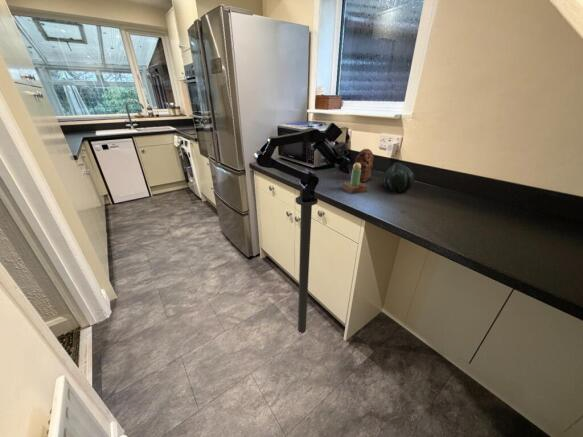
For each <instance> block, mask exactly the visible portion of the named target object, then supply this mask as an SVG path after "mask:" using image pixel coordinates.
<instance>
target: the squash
mask: <svg viewBox="0 0 583 437" xmlns="http://www.w3.org/2000/svg"><path fill="white" fill-rule="evenodd" d="M414 182H415V175H414V172H413V171H412V170H411V169H410V168H409V166H407V165H405V164H402V163H400V162H394V163H393V164H392V165H391V166H390V167H389V168H388V169H387V170H386V171H385V173H384V174H383V178H382V183H383V186H384V187H385V189H386V190H390V191H392V192H398V193H401V192H403V191H407V190H409V189H410V188H411V187H412V186H413V184H414Z"/></svg>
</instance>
